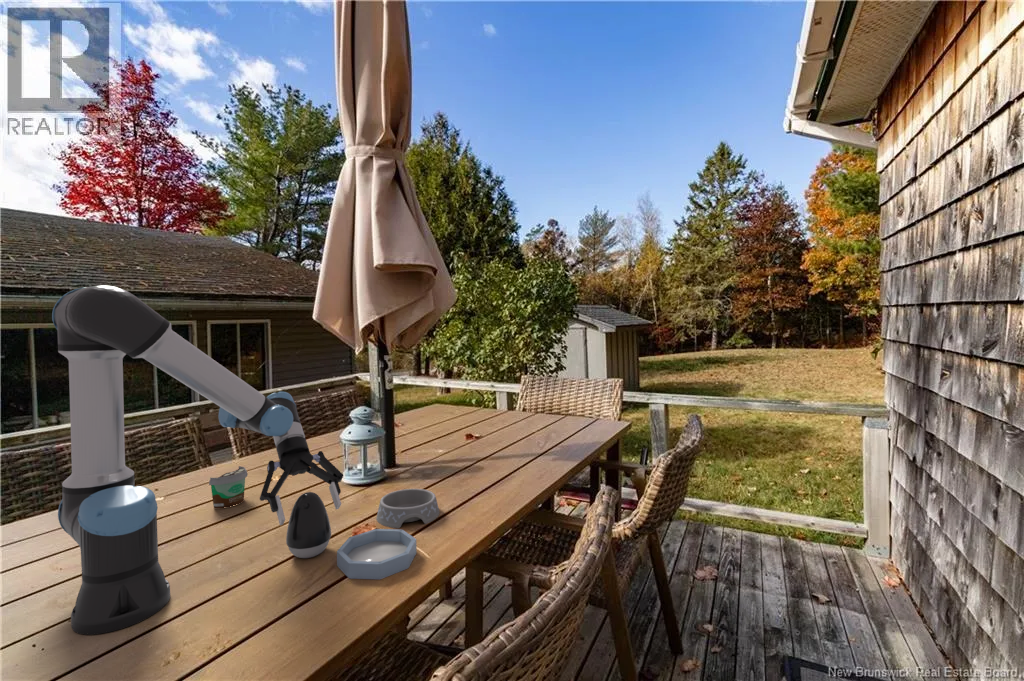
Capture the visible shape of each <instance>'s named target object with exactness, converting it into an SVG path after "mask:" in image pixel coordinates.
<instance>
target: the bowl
mask: <svg viewBox="0 0 1024 681" xmlns="http://www.w3.org/2000/svg"><path fill="white" fill-rule="evenodd" d="M416 555H417V538H415V537H414V536H413V535H411V534H409V533H408V532H407V531H405V530H404V529H400V528H393V529H392V528H374V529H371V530H368V531H365V532H361V533H359V534H355V535H352V536H350V537H348V538H347V539H346V540H345V542H344V543H343V544H342V545H341V546H340V547H339V548H338V549H337V551H336V566H337V567H338V568H339V570H340V571H342V573H343V574H344V575H345V576H346V577H347V578H348V579H352V580H355V579H358V580H382V579H385V578H387V577H390V576H392V575H395V574H398V573H400V572H402V571H406V570H407V569H409V568H410V566H411V564H412V563H413V560H414V559H415V557H416Z"/></svg>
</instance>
